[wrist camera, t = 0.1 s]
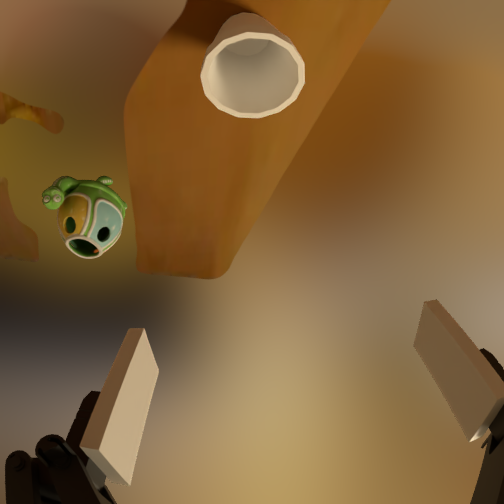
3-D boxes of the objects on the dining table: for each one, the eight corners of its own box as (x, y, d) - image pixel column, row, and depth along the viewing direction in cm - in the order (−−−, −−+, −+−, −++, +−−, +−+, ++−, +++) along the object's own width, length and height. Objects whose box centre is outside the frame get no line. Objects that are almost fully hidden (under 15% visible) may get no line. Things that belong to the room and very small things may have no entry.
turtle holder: (85, 144, 44) (63, 200, 38) (140, 207, 59) (132, 260, 53) (39, 170, 47) (17, 223, 40) (94, 222, 62) (83, 272, 55)
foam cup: (205, 63, 35) (199, 116, 28) (209, 0, 27) (202, 30, 21) (278, 67, 36) (295, 121, 30) (289, 6, 29) (315, 40, 22)
